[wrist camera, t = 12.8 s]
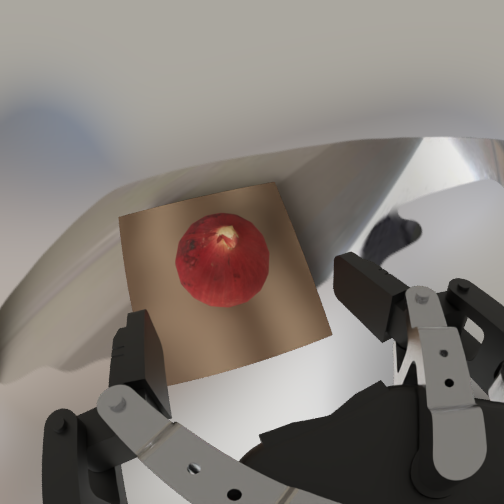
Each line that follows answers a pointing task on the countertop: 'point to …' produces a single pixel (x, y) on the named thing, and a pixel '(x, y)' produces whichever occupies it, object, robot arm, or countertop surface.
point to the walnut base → (221, 318)
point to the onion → (222, 260)
